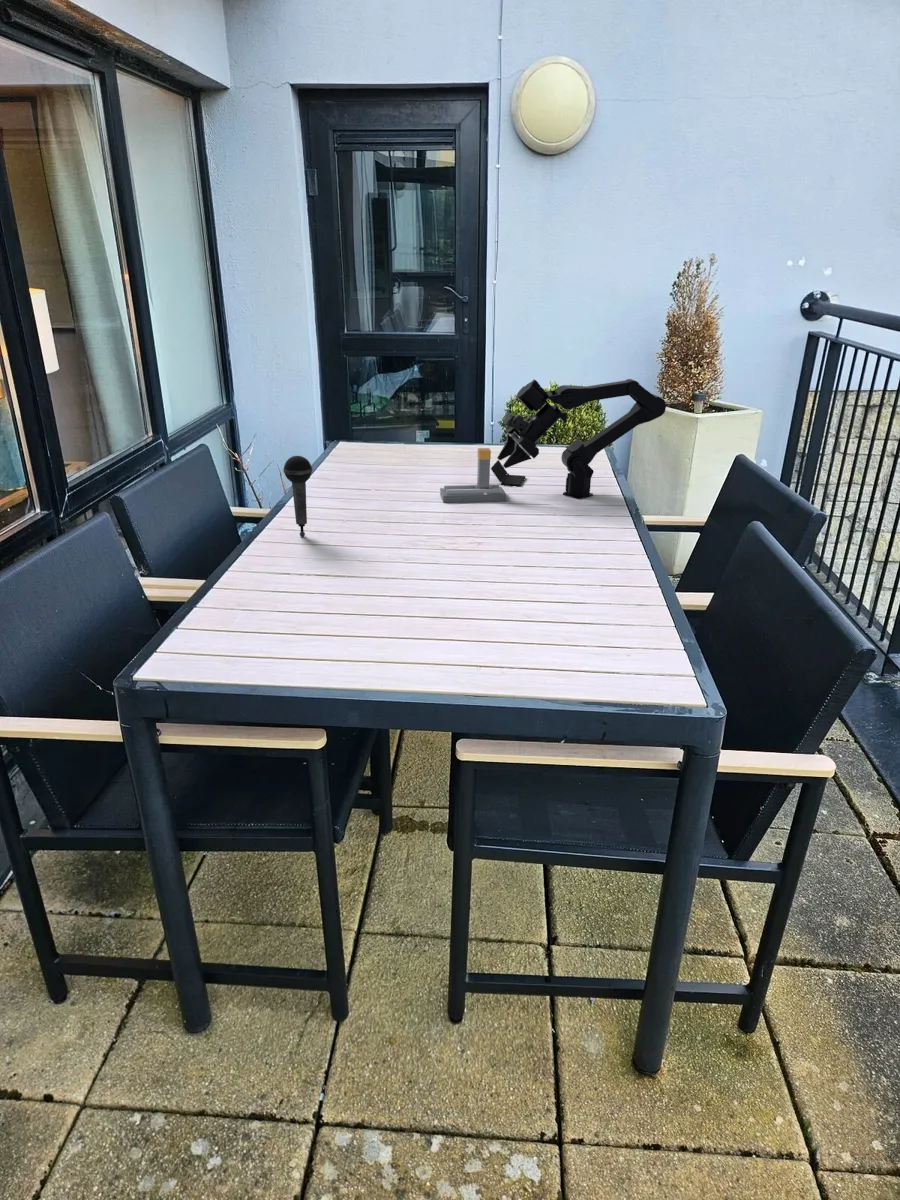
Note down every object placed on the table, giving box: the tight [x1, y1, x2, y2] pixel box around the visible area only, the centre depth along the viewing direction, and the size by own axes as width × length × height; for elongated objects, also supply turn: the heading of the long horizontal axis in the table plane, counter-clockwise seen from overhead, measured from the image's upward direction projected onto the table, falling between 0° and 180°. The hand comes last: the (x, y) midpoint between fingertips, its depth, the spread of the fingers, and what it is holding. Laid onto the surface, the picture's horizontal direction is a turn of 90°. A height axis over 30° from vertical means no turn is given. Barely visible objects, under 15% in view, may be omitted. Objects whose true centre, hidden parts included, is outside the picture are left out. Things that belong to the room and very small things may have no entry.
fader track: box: [439, 483, 507, 504], centre depth 225 cm, size 18×8×3 cm, turn 97°
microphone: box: [282, 455, 313, 538], centre depth 189 cm, size 7×7×20 cm
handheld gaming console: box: [490, 459, 526, 488], centre depth 243 cm, size 12×7×10 cm
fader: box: [473, 447, 493, 489], centre depth 223 cm, size 5×3×12 cm, turn 97°
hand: (501, 463), depth 223 cm, fingers open, 9 cm apart
